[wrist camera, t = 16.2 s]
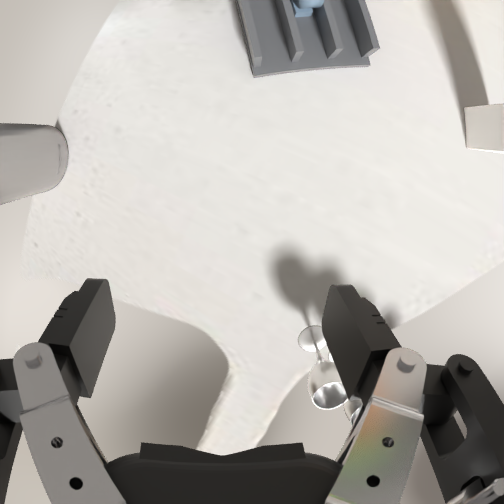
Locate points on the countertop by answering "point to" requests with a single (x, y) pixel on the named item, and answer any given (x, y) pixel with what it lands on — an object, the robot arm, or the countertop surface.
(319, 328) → the goblet set
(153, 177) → the countertop surface
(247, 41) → the dish rack
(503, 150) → the milk
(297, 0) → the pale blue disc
